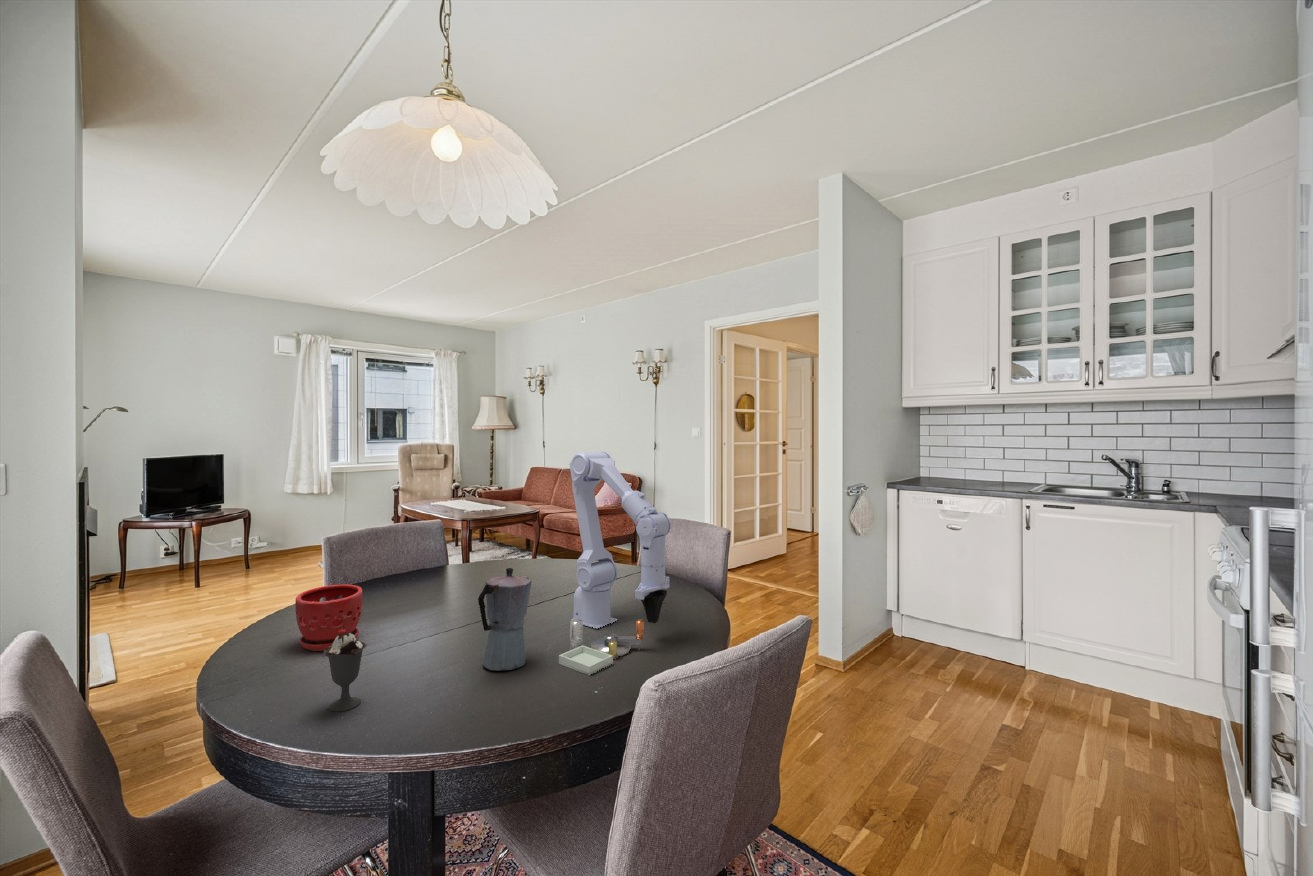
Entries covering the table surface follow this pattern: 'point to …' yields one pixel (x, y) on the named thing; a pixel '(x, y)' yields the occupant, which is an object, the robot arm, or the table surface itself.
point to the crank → (627, 639)
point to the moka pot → (505, 620)
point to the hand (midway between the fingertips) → (652, 622)
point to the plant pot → (327, 614)
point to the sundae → (344, 667)
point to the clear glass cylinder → (576, 633)
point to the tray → (585, 660)
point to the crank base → (610, 647)
